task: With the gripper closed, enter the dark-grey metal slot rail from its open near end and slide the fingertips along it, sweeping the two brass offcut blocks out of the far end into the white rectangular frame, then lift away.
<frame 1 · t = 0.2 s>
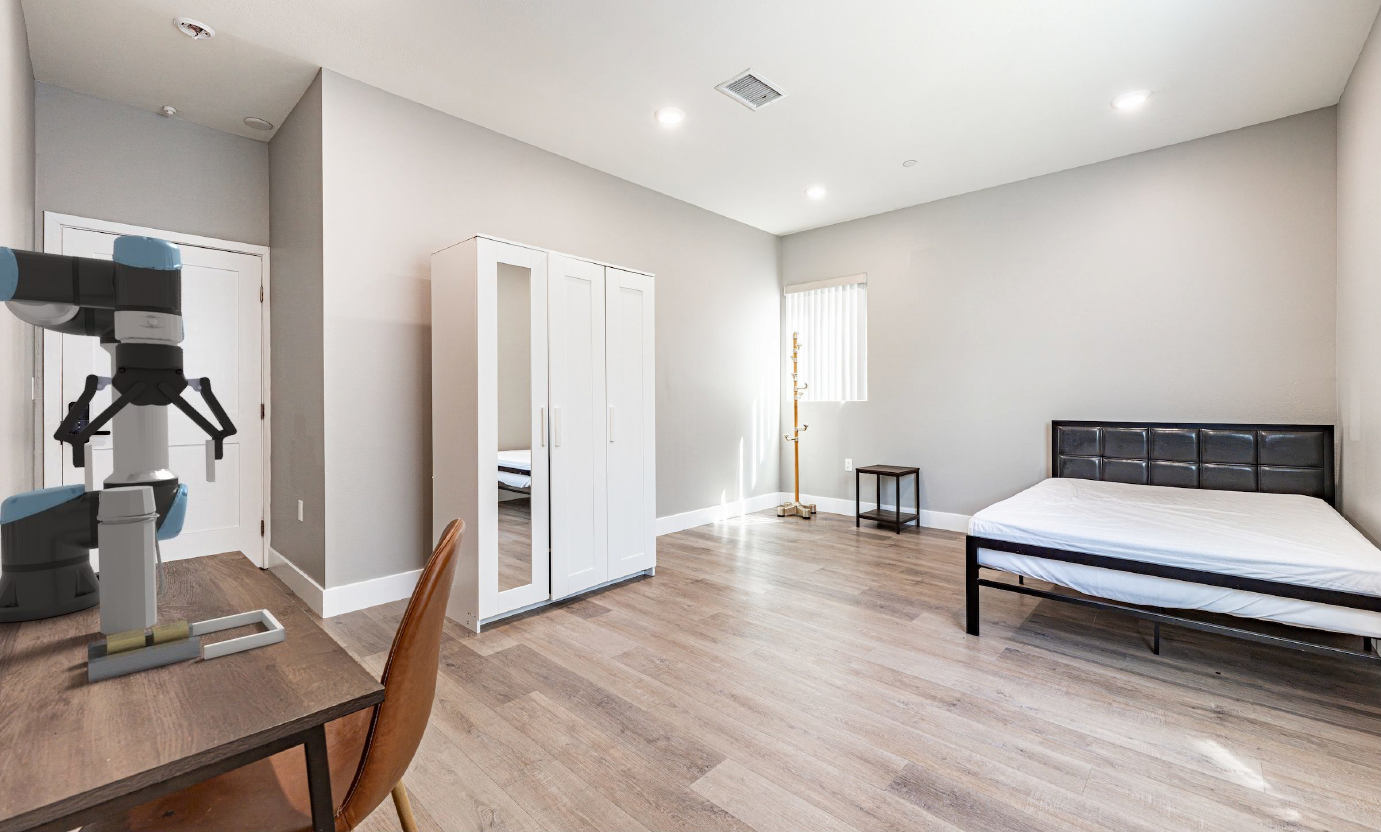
hand: (153, 485, 90), 27 cm above the table, fingers open, 13 cm apart
slot rail: (144, 666, 91), on the table
chip b: (170, 652, 93), point 1 cm above the table, touching slot rail
white rectangular frame: (238, 644, 99), on the table
chip a: (126, 662, 89), point 1 cm above the table, touching slot rail
water bottle: (135, 632, 105), on the table
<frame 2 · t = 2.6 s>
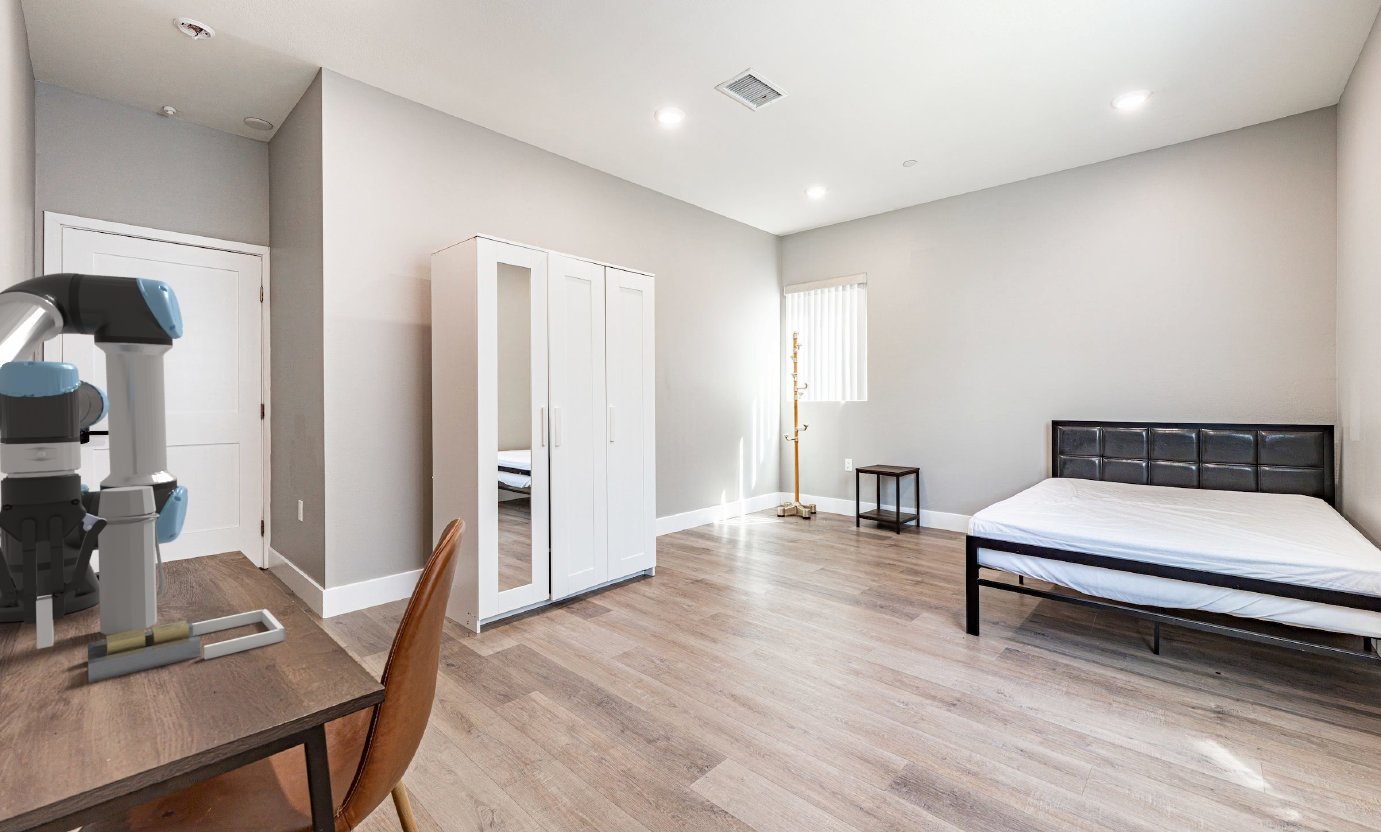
hand: (45, 644, 83), 6 cm above the table, fingers closed
nothing on the table moved.
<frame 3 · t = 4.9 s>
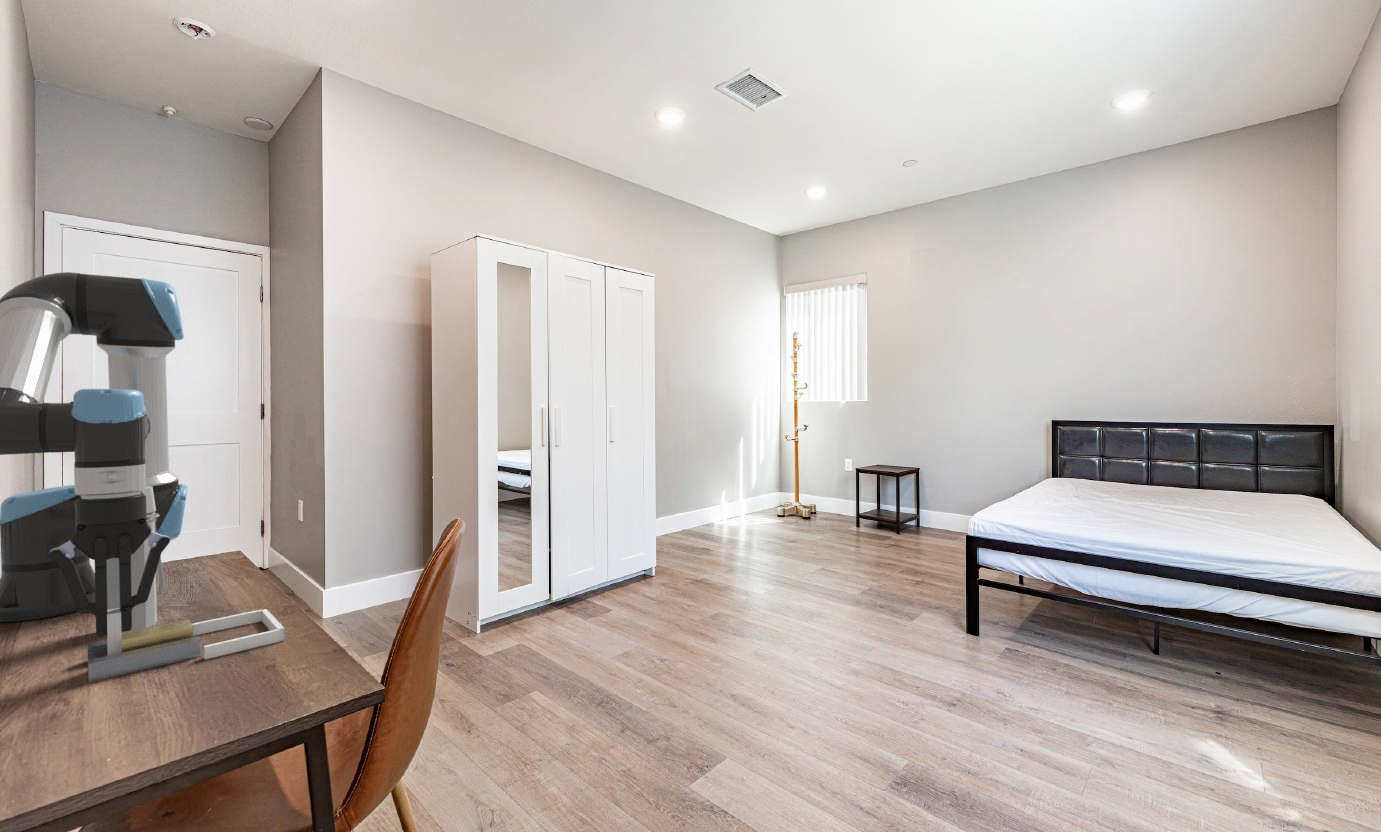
hand: (114, 655, 88), 3 cm above the table, fingers closed
chip b: (174, 651, 93), point 1 cm above the table, touching chip a
chip a: (139, 659, 90), point 1 cm above the table, touching chip b, gripper
everything else where it was.
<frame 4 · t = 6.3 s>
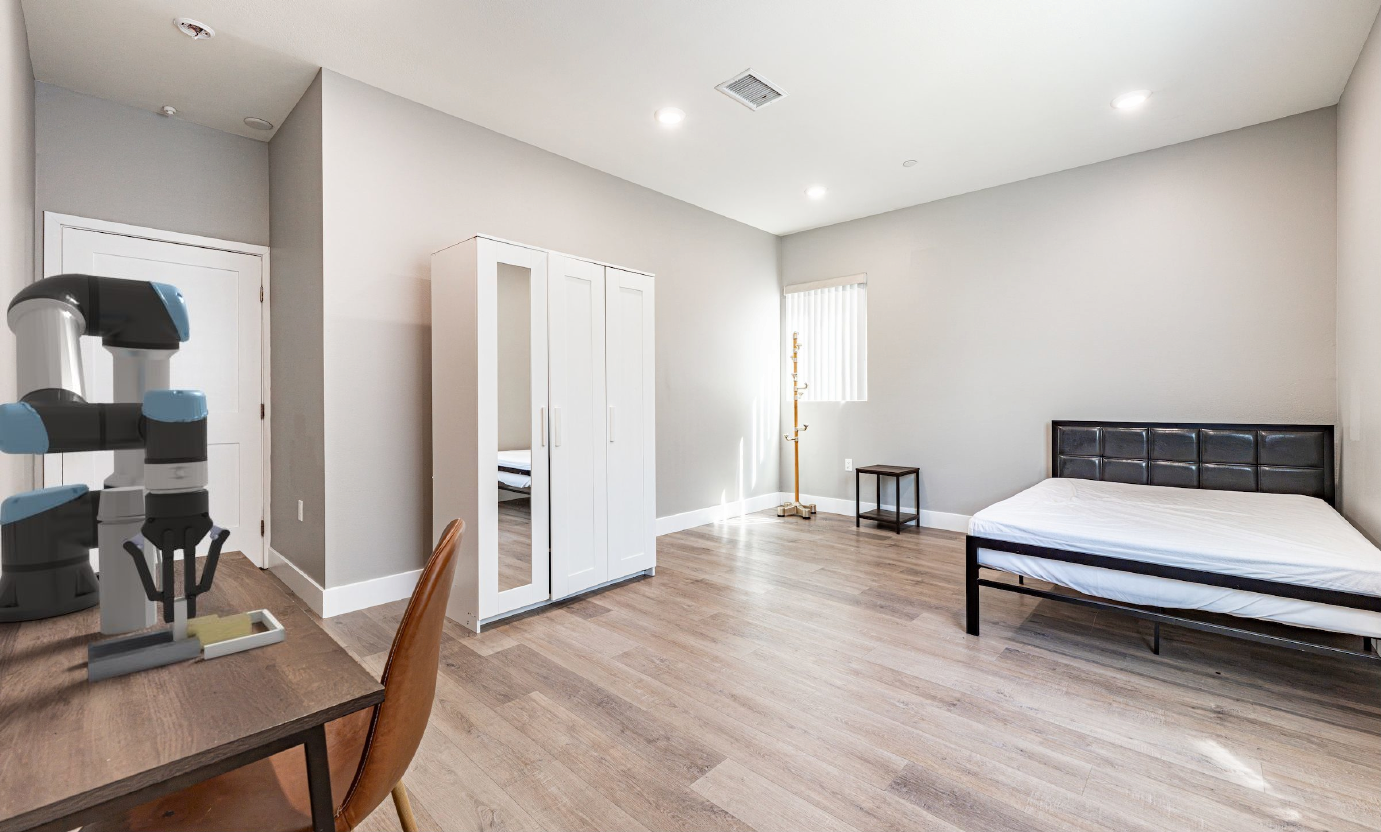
hand: (180, 640, 93), 3 cm above the table, fingers closed
chip b: (234, 642, 98), resting on white rectangular frame, touching chip a
chip a: (202, 645, 95), point 1 cm above the table, touching chip b, gripper
everything else where it was.
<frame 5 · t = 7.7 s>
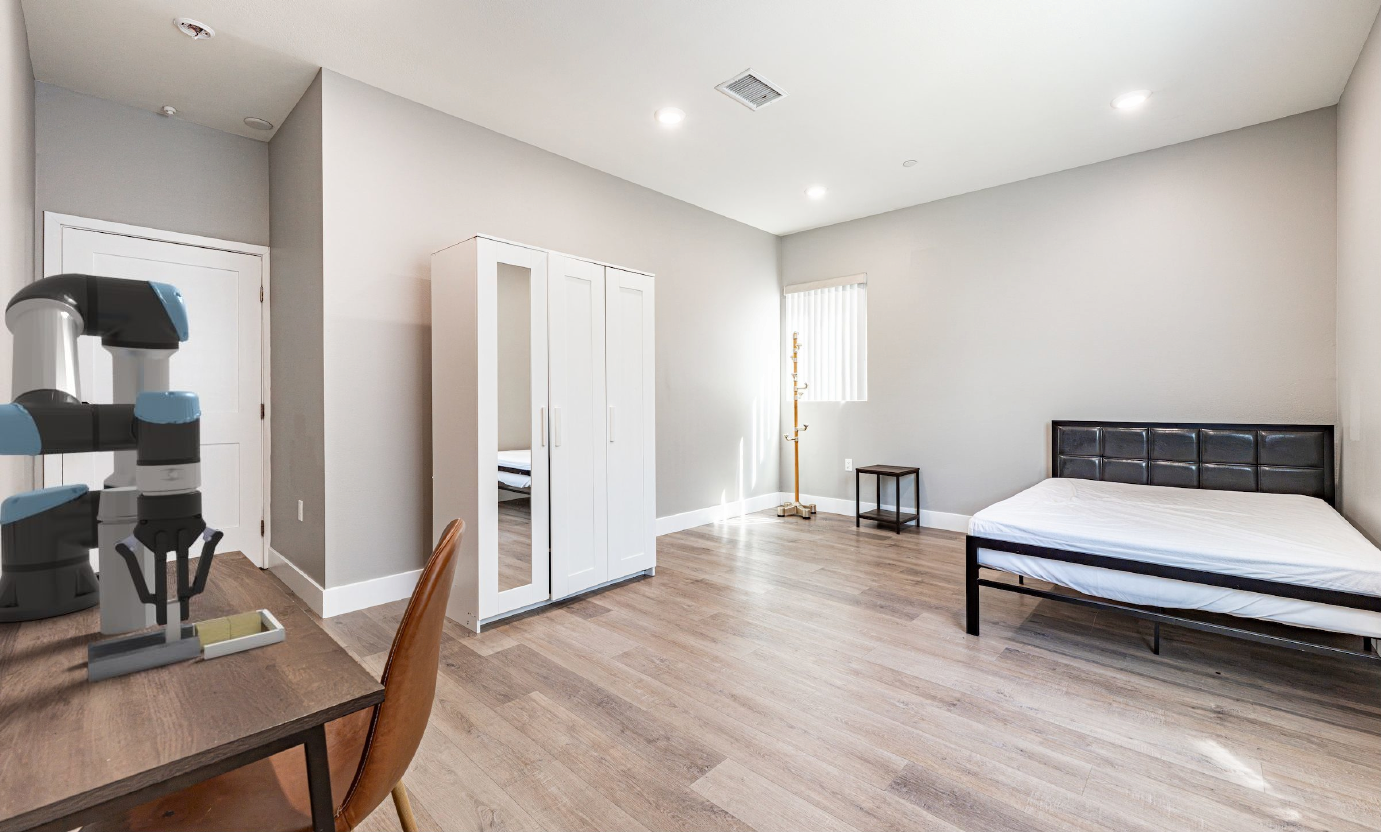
hand: (173, 643, 93), 2 cm above the table, fingers closed
chip b: (244, 640, 99), resting on white rectangular frame
chip a: (212, 648, 96), resting on white rectangular frame
everything else where it was.
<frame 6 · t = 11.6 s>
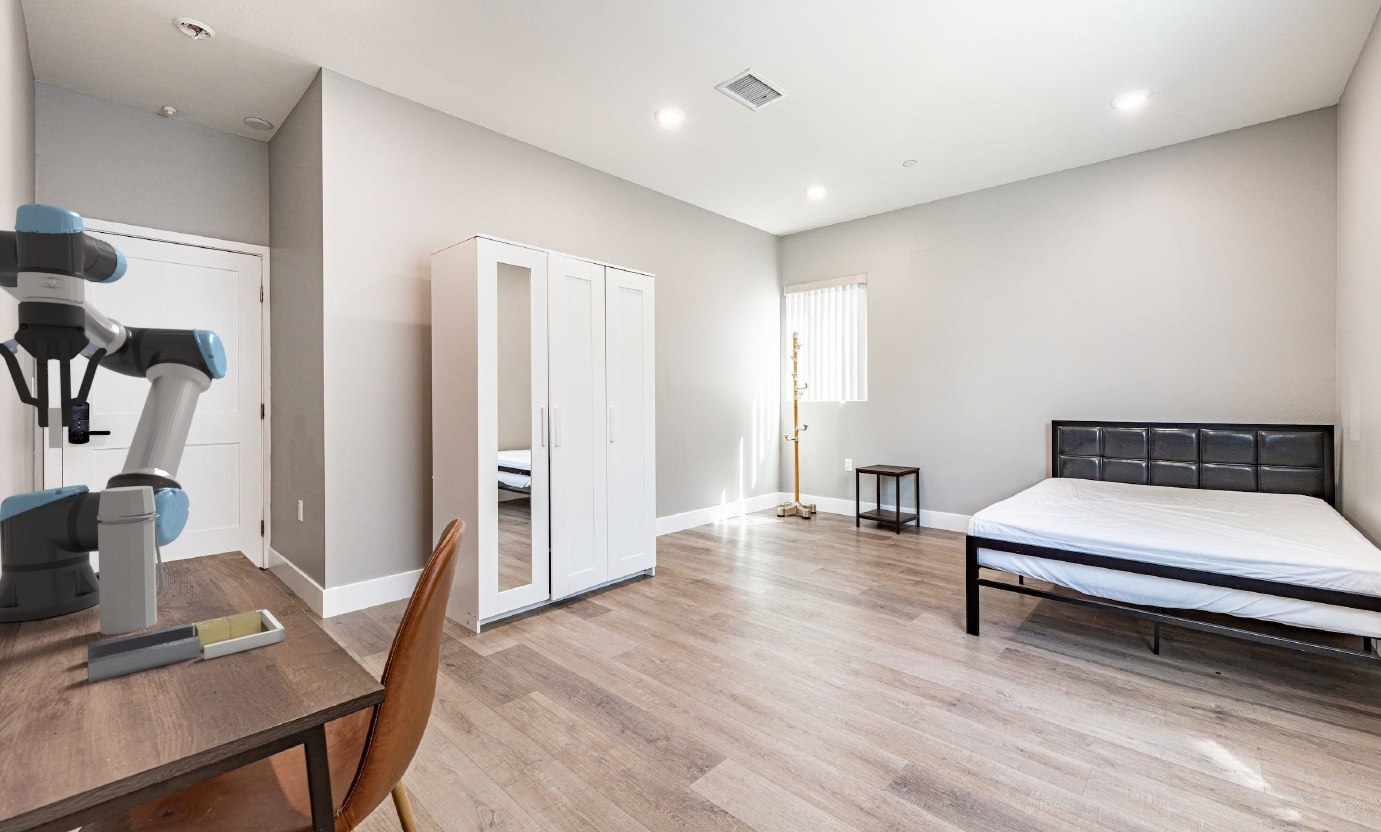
hand: (55, 447, 99), 32 cm above the table, fingers closed
nothing on the table moved.
at the end: chip a inside the target area (3.9 cm from its centre), resting on white rectangular frame; chip b inside the target area (0.1 cm from its centre), resting on white rectangular frame; chip b touching white rectangular frame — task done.
